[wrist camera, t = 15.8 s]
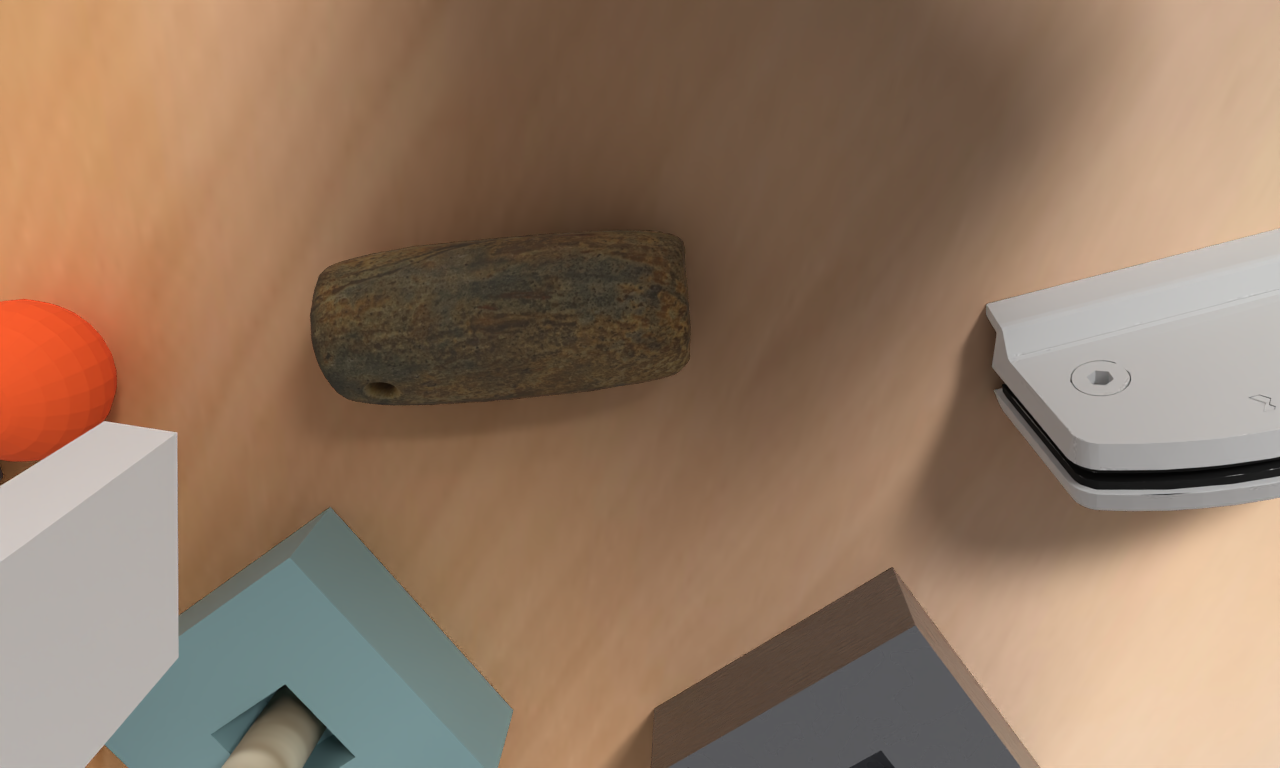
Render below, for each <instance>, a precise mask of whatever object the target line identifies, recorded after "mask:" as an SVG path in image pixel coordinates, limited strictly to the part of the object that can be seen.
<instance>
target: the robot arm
mask: <svg viewBox="0 0 1280 768" xmlns="http://www.w3.org/2000/svg"><path fill="white" fill-rule="evenodd" d="M178 657H179V638H178V463H177V432H171V431H165V430H158V429H152V428H145V427H139V426H132V425H126V424H120V423H113V422H107V421H104V422H102V423H101V424H99V425H97V426H96V427H94V428H93V429H91V430H89V431H88V432H86V433H85V434H83V435H81V436H80V437H78V438H77V439H75V440H73V441H72V442H70V443H69V444H67V445H65V446H64V447H62V448H60V449H59V450H57V451H56V452H54V453H52V454H51V455H49V456H48V457H46V458H44V459H43V460H41V461H40V462H38V463H36V464H35V465H33V466H32V467H30V468H28V469H27V470H25V471H24V472H22V473H20V474H19V475H17V476H15V477H14V478H12V479H11V480H9V481H7V482H6V483H4V484H3V485H1V486H0V768H85V767H86V765H87V764H88V763H89V762H90V761H91V760H92V758H93V757H94V756H95V755H96V754H97V753H98V751H99V750H100V749H101V748H102V747H103V746H104V744H105V743H106V742H107V741H108V740H109V738H110V737H111V736H112V735H113V734H114V733H115V731H116V730H117V729H118V728H119V727H120V726H121V724H122V723H123V722H124V721H125V720H126V719H127V717H128V716H129V715H130V714H131V713H132V711H133V710H134V709H135V708H136V707H137V706H138V704H139V703H140V702H141V701H142V700H143V699H144V697H145V696H146V695H147V694H148V693H149V692H150V690H151V689H152V688H153V687H154V686H155V684H156V683H157V682H158V681H159V680H160V679H161V677H162V676H163V675H164V674H165V673H166V672H167V670H168V669H169V668H170V667H171V666H172V665H173V663H174V662H175V661H176V660H177V659H178Z"/></svg>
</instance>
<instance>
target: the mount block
mask: <svg viewBox="0 0 1280 768" xmlns="http://www.w3.org/2000/svg"><path fill="white" fill-rule="evenodd" d="M651 768H1040V767H1039V765H1038V764H1037V763H1036V761H1035V760H1034V759H1033V757H1032V756H1031V754H1030V753H1029V752H1028V750H1027V749H1026V748H1025V746H1024V745H1023V744H1022V742H1021V741H1020V740H1019V738H1018V737H1017V736H1016V734H1015V733H1014V731H1013V730H1012V729H1011V727H1010V726H1009V725H1008V723H1007V722H1006V721H1005V719H1004V718H1003V717H1002V715H1001V714H1000V712H999V711H998V710H997V708H996V707H995V706H994V704H993V703H992V702H991V700H990V699H989V698H988V696H987V695H986V693H985V692H984V691H983V689H982V688H981V687H980V685H979V684H978V683H977V681H976V680H975V679H974V677H973V676H972V674H971V673H970V672H969V670H968V669H967V668H966V666H965V665H964V664H963V662H962V661H961V660H960V658H959V657H958V656H957V654H956V653H955V651H954V650H953V649H952V647H951V646H950V645H949V643H948V642H947V641H946V639H945V638H944V637H943V635H942V634H941V632H940V631H939V630H938V628H937V627H936V626H935V624H934V623H933V622H932V620H931V619H930V618H929V616H928V615H927V613H926V612H925V611H924V609H923V608H922V607H921V605H920V604H919V603H918V601H917V600H916V599H915V597H914V596H913V594H912V593H911V592H910V590H909V589H908V588H907V586H906V585H905V584H904V582H903V581H902V580H901V578H900V577H899V576H898V574H897V573H896V571H895V570H894V569H893V567H892V568H890V569H889V570H887V571H885V572H884V573H882V574H880V575H879V576H877V577H875V578H874V579H872V580H870V581H869V582H867V583H865V584H863V585H862V586H860V587H858V588H857V589H855V590H853V591H852V592H850V593H848V594H847V595H845V596H843V597H842V598H840V599H838V600H837V601H835V602H833V603H831V604H830V605H828V606H826V607H825V608H823V609H821V610H820V611H818V612H816V613H815V614H813V615H811V616H810V617H808V618H806V619H805V620H803V621H801V622H799V623H798V624H796V625H794V626H793V627H791V628H789V629H788V630H786V631H784V632H783V633H781V634H779V635H778V636H776V637H774V638H773V639H771V640H769V641H767V642H766V643H764V644H762V645H761V646H759V647H757V648H756V649H754V650H752V651H751V652H749V653H747V654H746V655H744V656H742V657H741V658H739V659H737V660H736V661H734V662H732V663H730V664H729V665H727V666H725V667H724V668H722V669H720V670H719V671H717V672H715V673H714V674H712V675H710V676H709V677H707V678H705V679H704V680H702V681H700V682H698V683H697V684H695V685H693V686H692V687H690V688H688V689H687V690H685V691H683V692H682V693H680V694H678V695H677V696H675V697H673V698H672V699H670V700H668V701H666V702H665V703H663V704H661V705H660V706H658V707H656V708H655V709H654V725H653V743H652V761H651Z"/></svg>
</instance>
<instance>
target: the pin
mask: <svg viewBox="0 0 1280 768" xmlns="http://www.w3.org/2000/svg"><path fill="white" fill-rule="evenodd" d="M326 728H327V727H326V726H325V725H324V724H323V723H322V722H321V721H320V720H319V719H318V718H317V717H316V716H315V715H314V714H313V712H312V711H311V710H310V709H309V708H308V707H307V706H306V705H305V704H304V703H303V702H302V701H301V700H300V699H299V698H298V697H297V696H296V695H295V694H294V693H293V692H292V691H291V690H290V689H289V688H288V687H287V686H286V685H283V686H282V687H281V688H279V689H278V690H277V691H276V693H275V694H274V696H273V697H272V698H271V700H270V701H269V702H268V704H267V705H266V707H265V708H264V709H263V711H262V712H261V714H260V715H259V716H258V718H257V719H256V720H255V722H254V723H253V725H252V726H251V727H250V729H249V730H248V731H247V733H246V734H245V736H244V737H243V738H242V740H241V741H240V743H239V744H238V745H237V747H236V748H235V749H234V751H233V752H232V754H231V755H230V756H229V758H228V759H227V761H226V762H225V763H224V765H223V766H222V767H221V768H303V766H304V765H305V763H306V761H307V760H308V758H309V756H310V755H311V753H312V751H313V750H314V748H315V746H316V745H317V743H318V741H319V740H320V738H321V736H322V735H323V733H324V731H325V730H326Z"/></svg>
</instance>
